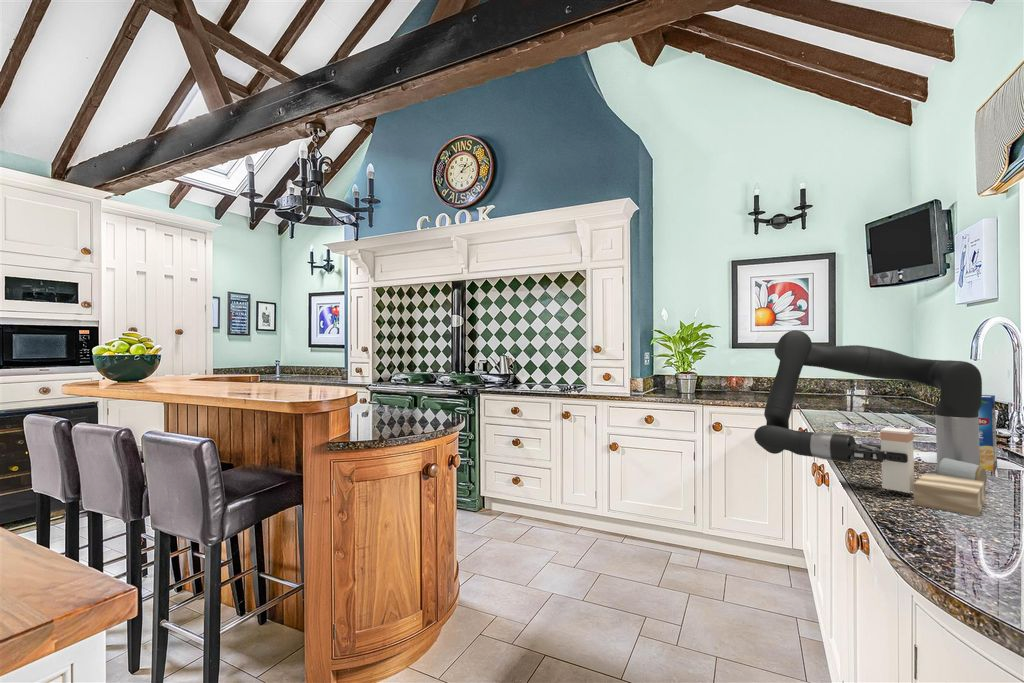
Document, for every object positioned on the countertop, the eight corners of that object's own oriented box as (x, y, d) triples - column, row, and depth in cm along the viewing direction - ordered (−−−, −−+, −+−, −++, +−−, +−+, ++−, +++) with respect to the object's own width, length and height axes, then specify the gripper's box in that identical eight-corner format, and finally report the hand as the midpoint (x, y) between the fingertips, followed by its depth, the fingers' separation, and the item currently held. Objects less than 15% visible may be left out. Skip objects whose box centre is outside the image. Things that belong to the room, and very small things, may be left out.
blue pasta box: (994, 471, 141) (991, 397, 142) (945, 464, 150) (942, 394, 150) (997, 467, 146) (995, 395, 146) (949, 460, 154) (947, 393, 154)
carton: (887, 483, 126) (885, 427, 126) (914, 488, 122) (912, 429, 122) (882, 488, 122) (880, 429, 122) (910, 492, 118) (907, 432, 118)
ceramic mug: (979, 496, 119) (978, 465, 119) (937, 488, 126) (936, 459, 126) (992, 489, 125) (991, 460, 125) (951, 482, 132) (950, 454, 132)
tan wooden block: (925, 492, 123) (925, 472, 123) (985, 502, 115) (984, 481, 115) (914, 504, 114) (913, 483, 114) (977, 516, 106) (977, 493, 106)
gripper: (823, 437, 128) (903, 446, 116) (840, 430, 138) (915, 437, 125) (824, 465, 128) (904, 476, 115) (841, 456, 138) (916, 466, 125)
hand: (909, 456), depth 120 cm, fingers closed on carton, 5 cm apart
